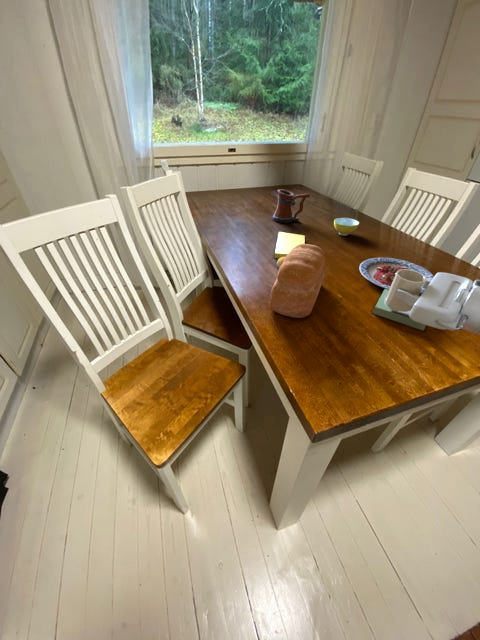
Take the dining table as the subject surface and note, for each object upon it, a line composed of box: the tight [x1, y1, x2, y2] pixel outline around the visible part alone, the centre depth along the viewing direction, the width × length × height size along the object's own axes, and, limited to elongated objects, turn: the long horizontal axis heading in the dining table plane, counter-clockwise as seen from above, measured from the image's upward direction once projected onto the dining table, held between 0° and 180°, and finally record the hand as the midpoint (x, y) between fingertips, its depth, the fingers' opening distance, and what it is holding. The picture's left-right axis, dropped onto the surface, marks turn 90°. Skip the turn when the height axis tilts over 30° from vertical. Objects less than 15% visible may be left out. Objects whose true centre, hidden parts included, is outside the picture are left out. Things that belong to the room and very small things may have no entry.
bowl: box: [333, 217, 360, 237], centre depth 132 cm, size 11×12×6 cm
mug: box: [272, 188, 310, 224], centre depth 145 cm, size 18×12×15 cm, turn 76°
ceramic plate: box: [358, 257, 435, 294], centre depth 100 cm, size 26×26×3 cm
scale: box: [372, 288, 427, 331], centre depth 84 cm, size 14×13×3 cm
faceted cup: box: [385, 269, 427, 312], centre depth 65 cm, size 6×6×8 cm
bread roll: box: [276, 257, 285, 269], centre depth 106 cm, size 8×9×4 cm
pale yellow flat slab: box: [274, 231, 306, 259], centre depth 121 cm, size 12×2×24 cm
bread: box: [269, 243, 326, 319], centre depth 86 cm, size 14×26×15 cm, turn 156°
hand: (402, 285), depth 65 cm, fingers closed on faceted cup, 6 cm apart
